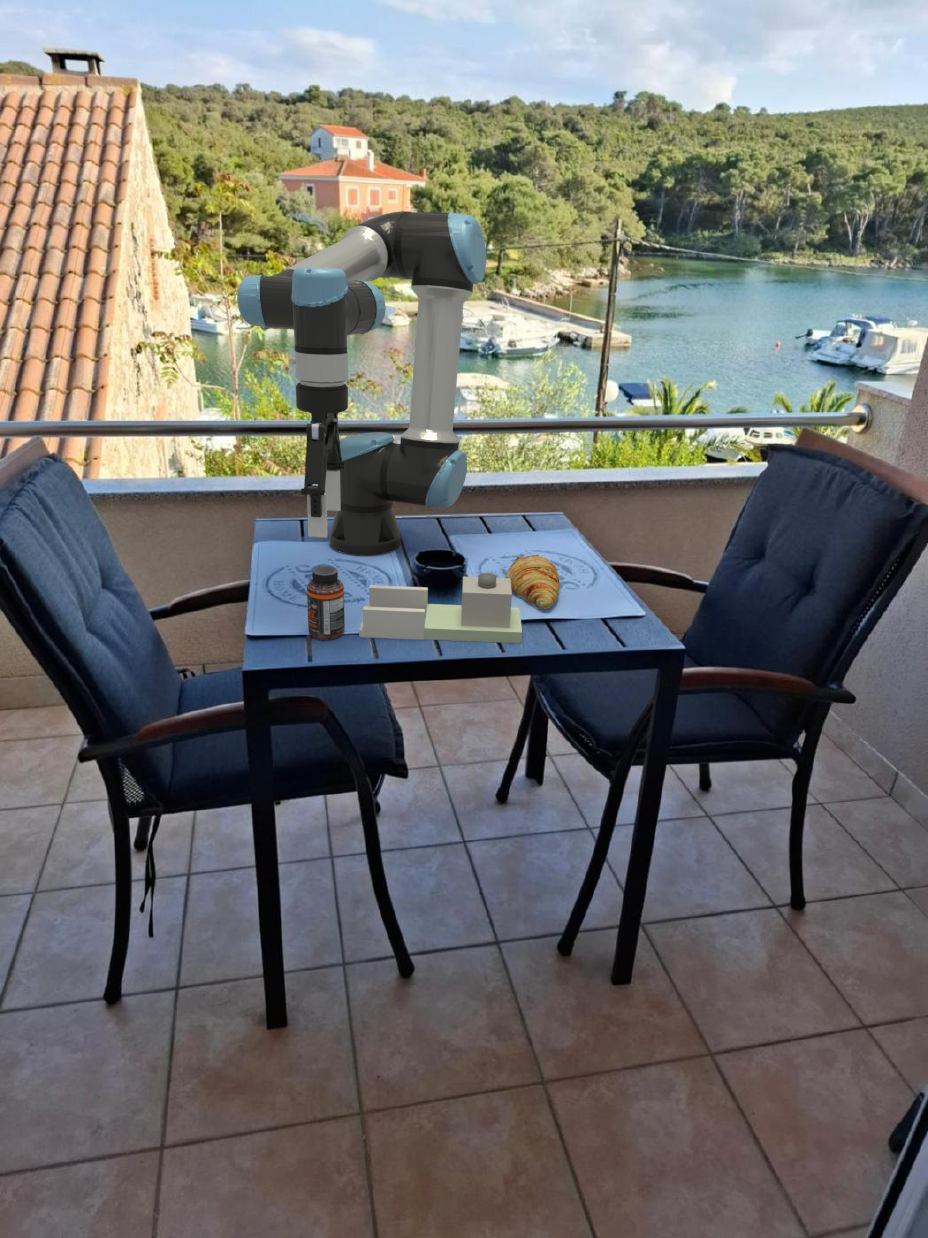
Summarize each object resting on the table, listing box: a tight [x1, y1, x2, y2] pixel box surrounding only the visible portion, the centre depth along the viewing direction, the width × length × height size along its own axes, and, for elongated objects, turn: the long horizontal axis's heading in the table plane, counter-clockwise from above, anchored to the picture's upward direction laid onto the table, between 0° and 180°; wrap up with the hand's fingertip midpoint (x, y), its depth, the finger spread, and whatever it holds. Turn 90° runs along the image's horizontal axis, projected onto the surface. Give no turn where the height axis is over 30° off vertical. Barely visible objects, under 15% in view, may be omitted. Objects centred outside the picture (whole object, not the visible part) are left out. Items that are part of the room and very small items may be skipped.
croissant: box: [504, 554, 561, 610], centre depth 157 cm, size 21×10×8 cm, turn 11°
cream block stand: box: [358, 572, 523, 644], centre depth 139 cm, size 10×27×10 cm, turn 89°
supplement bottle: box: [306, 565, 346, 641], centre depth 135 cm, size 6×6×11 cm
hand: (325, 522), depth 130 cm, fingers open, 13 cm apart
